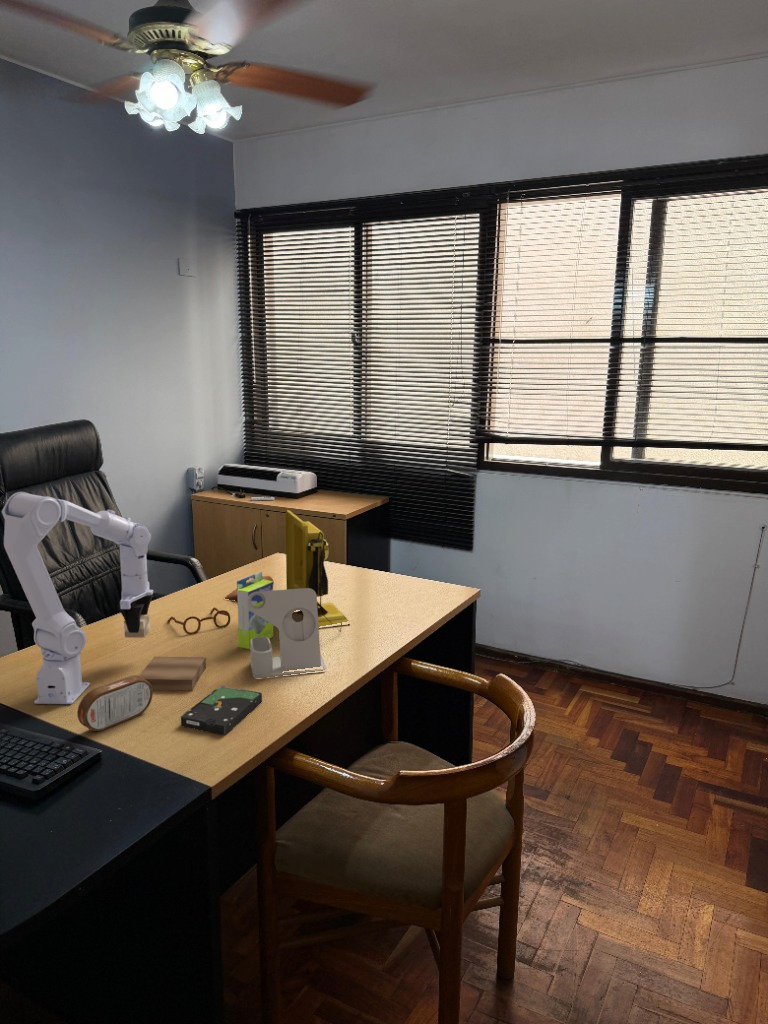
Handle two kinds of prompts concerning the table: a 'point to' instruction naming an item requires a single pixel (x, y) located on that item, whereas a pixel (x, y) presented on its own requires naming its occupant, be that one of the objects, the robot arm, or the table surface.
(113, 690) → the tin
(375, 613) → the table surface
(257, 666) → the phone holder
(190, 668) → the plinth
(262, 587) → the box
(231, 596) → the sunglasses case
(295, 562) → the yellow computer monitor
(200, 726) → the disk drive
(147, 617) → the block
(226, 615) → the glasses
